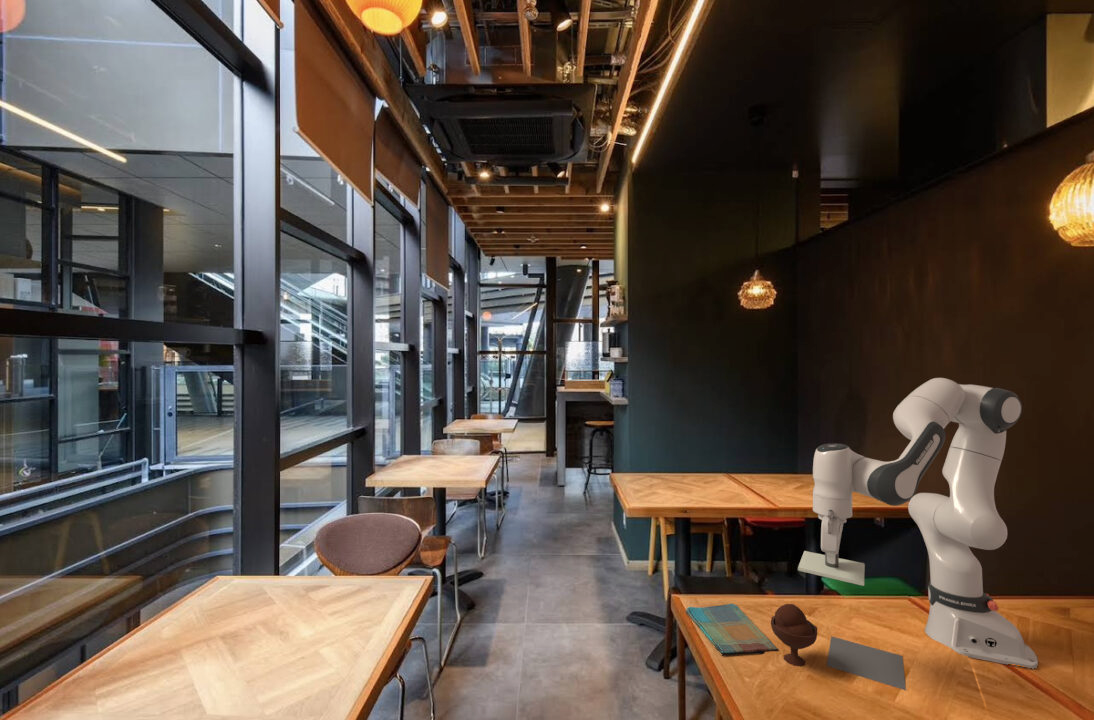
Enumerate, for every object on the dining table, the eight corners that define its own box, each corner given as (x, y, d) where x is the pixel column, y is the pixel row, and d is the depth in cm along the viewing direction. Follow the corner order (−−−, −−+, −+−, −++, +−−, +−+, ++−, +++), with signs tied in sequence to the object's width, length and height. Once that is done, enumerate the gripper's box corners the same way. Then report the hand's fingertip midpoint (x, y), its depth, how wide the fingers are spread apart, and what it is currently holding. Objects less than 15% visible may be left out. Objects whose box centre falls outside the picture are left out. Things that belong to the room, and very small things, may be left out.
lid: (864, 566, 122) (864, 548, 122) (864, 585, 110) (864, 565, 110) (804, 553, 130) (804, 536, 130) (797, 570, 118) (798, 551, 118)
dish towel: (736, 610, 147) (736, 602, 147) (781, 654, 124) (781, 645, 124) (684, 613, 146) (684, 605, 146) (720, 659, 122) (720, 649, 122)
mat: (902, 657, 121) (902, 655, 121) (905, 692, 108) (905, 690, 108) (831, 637, 131) (831, 636, 131) (826, 667, 117) (826, 665, 118)
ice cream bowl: (826, 677, 114) (824, 616, 114) (777, 672, 116) (776, 611, 116) (810, 652, 124) (809, 595, 124) (766, 647, 126) (764, 592, 127)
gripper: (844, 518, 110) (844, 577, 110) (848, 500, 127) (847, 551, 126) (814, 513, 114) (814, 570, 113) (821, 496, 130) (821, 545, 130)
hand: (831, 560), depth 120 cm, fingers closed on lid, 3 cm apart
